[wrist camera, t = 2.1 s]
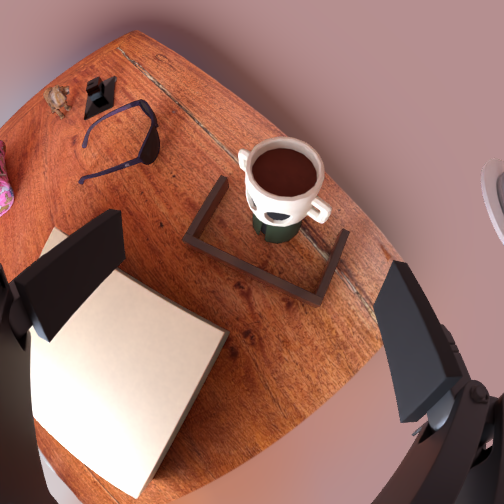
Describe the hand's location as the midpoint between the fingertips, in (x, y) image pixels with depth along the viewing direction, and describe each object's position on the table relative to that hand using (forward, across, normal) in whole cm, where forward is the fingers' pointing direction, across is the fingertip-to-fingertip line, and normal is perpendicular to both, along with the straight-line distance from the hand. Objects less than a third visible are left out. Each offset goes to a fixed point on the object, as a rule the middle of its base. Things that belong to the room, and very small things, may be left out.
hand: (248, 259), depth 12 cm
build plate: (+39, -40, +9) cm, 57 cm away
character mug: (+23, +1, -7) cm, 24 cm away
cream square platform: (+6, -18, -24) cm, 31 cm away
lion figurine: (+38, -51, +8) cm, 64 cm away
